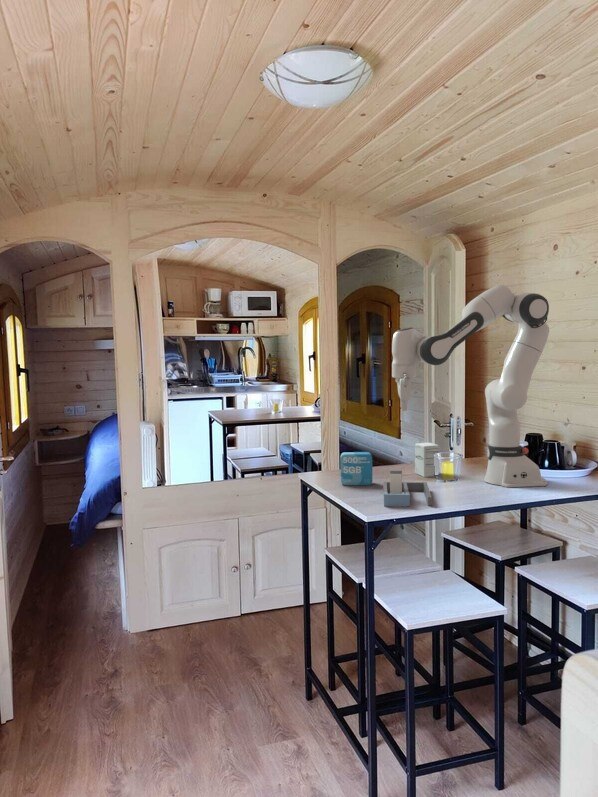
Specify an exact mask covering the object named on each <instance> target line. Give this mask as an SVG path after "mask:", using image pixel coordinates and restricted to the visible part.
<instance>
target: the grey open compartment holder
mask: <svg viewBox="0 0 598 797" xmlns="http://www.w3.org/2000/svg"><path fill="white" fill-rule="evenodd" d="M382 485H383V486H382V487H383V488H382V489H383V506H384V507H397V506H399V507H398V508H400V507H402V506H403V508H404V507H405V508H407V507H406V506H410V507H411V503H410V501H411V496H410V495H411V494H410V492H423V493H424V497H425V501H426V504H427V506H428V507H432V506H433V501H432V500H433V498H432V494H431V491H430V488H429V485H428V483H427V481H402V492H403V493H402V494H390V493H388V491H389V492H390V481H383V484H382Z"/></svg>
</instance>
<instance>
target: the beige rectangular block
mask: <svg viewBox="0 0 598 797" xmlns="http://www.w3.org/2000/svg"><path fill="white" fill-rule="evenodd" d="M402 469H403V468H398V467H397V468H396V467H394V468H393V467H392V468H389V482H390V491H389V494H403V491H402V482H403V470H402Z"/></svg>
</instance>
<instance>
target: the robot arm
mask: <svg viewBox="0 0 598 797" xmlns="http://www.w3.org/2000/svg"><path fill="white" fill-rule="evenodd" d="M549 310H550V304H549V301H548V299H547V298H546V297H544V296H543V295H541V294H538V293H534V292H533V293H531V292H521V293H519V292H518V293H513V291H512V290H511V289H510V288H509V287H508V286H507V285H504V284H497V285H495V286H492V287H491V288H489V289H487V290H485V291H483V292H481V293H480V294H479V295H477V296H476V297H474V298H473V299H472V300H470V301H469V302H468V303H467V304H466V305H465V306H464V307H463V309H462V311H461V317H462V318H461V319H460V320H459V322H457V323H455V325H453V326H452V327H451V328H449V329H448V330H447V331H445V332H444V333H442V334H439V335H434V336H429V335H428V334H427V335H426V334H423V333H421V332H419V331H418V330H417V329H415V327H405V328H400V329H398V330H396V331H395V332H394V333H393V336H392V342H391V354H392V362H391V377H392V378H394V379H395V383H396V385H397V386H396V387H397V393H398V394H397V395H398V397H399V399H400V402H401V403H400V404H401V410H402V412H404V411H405V412H406V411H407V410H408V401H410V400H411V396H412V394H411V393H412V392H411V390H412V389H411V386H412V383H413V382H414V378H417V364H418V362H420V363H425V364H429V365H431V366H440V365H442V364H444V363H445V362H447V360H449V357H450V356H451V355H452V353H453V352H454V351H455V349H456V348H457V347H458V346H459V345H461V344H462V343H463V342H464V341H466V340H467V339H468V338H470V337H471V336H472V335H474V334H475V333H476V332H479V331H480V330H482V329H484V328H486V327H488V326H489V325H491V324H493V323H494V322H495V321H497V320H498V319H499V318H501V317H502V318H504V319H505V320H507V321H508V322H513V323H517V324H518V329H517V334H516V335H515V337H514V339H513V341H512V343H511V346H510V348H509V350H508V352H507V353H506V356H505V358H504V359H503V360H504V361H503V368H502V371H501V375H500V378H497V379H494V380H492V381H490V382H489V383H488V384H487V385H486V387H485V389H484V395H485V400H486V412H487V419H488V427H489V428H488V444H487V450H486V451H487V455H486V456H487V460H488V461H487V468H486V472H485V477H484V479H483V480H484V482H486V483H488V484H490V485H491V484H492V485H496V486H501V487H506V488H515V487H516V488H523V487H544V486H545V487H546V486H548V480H547V479H546V478H544V477H543V476H542V474H541V470H540V467H539V465H538V464H536V463H535V462H534V461H533V460H532V459H530V458H529V457H527V454H528V453H529V449H528V448H527V447H524V446H522V445H521V444H520V442H521V441H520V439H521V436H520V435H521V424H520V421H519V418H518V413H517V411H518V410H519V409H522V407H523V406H524V405H525V404H526V402H527V400H528V391H529V387H530V383H531V380H532V377H533V376H532V375H533V373H534V370H535V369H536V366H537V364H538V362H539V360H540V357H541V355H542V354H543V351H544V349H545V347H546V343H547V341H548V339H549V338H548V337H549V334H550V326H549V325H548V324H547V321H548V315H549Z"/></svg>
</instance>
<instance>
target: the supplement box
mask: <svg viewBox="0 0 598 797" xmlns="http://www.w3.org/2000/svg"><path fill="white" fill-rule="evenodd" d="M435 453H439V454H440V445H439V444H436V443H433V442H421V443H420V442H419V443H418V442H417V443H415V444H414V474H415V475H418V476H422V477H423V478H431V477H435V476H434V475H435V466H434V454H435Z"/></svg>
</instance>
